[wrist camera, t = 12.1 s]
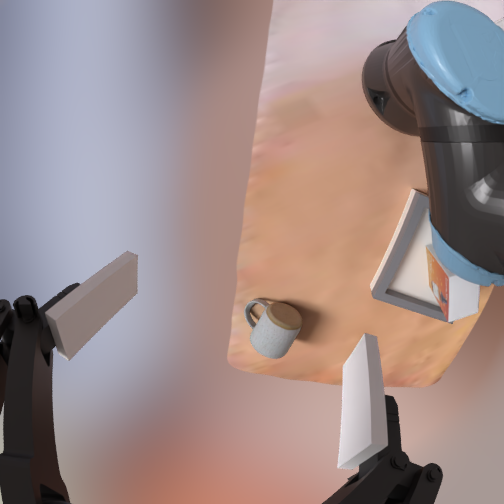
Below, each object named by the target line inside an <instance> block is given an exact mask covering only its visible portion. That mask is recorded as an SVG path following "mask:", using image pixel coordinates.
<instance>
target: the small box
mask: <svg viewBox="0 0 504 504" xmlns="http://www.w3.org/2000/svg"><path fill="white" fill-rule="evenodd" d="M425 247H426V253H427V263H428V277H429V287H430V288H431V290H432V292H433V294H434V296H435V298H436V300H437V302H438V303H439V305H440V307H441V310H442V311H443V313H444V316H445V318H446V320H447V322H452V321H455V320H458V319H461V318H464V317H467V316H470V315H473V314H475V313H478V308H479V294H480V285H477V284H474V283H471V282H468V281H466V280H464V279H462V278H460V277H458V276H457V275H455V274H453V273H452V272H451V271H449V270H448V269H447V268H446V267H445V266H444V265H443V264H442V263H441V261H440V260H439V259H438V257H437V255H436V253H435V250H434V248H433V244H428V245H426V246H425Z"/></svg>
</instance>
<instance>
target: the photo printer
mask: <svg viewBox="0 0 504 504" xmlns="http://www.w3.org/2000/svg"><path fill="white" fill-rule="evenodd" d="M494 23H495V24H496V25H497V26H500V27H501V28H502V29H503V31H504V17H503V18H501V19H499V20H497V21H496V22H494Z"/></svg>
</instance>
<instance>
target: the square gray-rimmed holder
mask: <svg viewBox="0 0 504 504" xmlns="http://www.w3.org/2000/svg"><path fill="white" fill-rule="evenodd" d="M429 208H430V207H429V196H427V195H425V194H423V193H421V192H419V191H417V190H414V189H412V190H411V192H410V195H409V198H408V200H407V203H406V206H405V208H404V211H403V213H402V216H401V218H400V221H399V223H398V226H397V228H396V230H395V233H394V235H393V238H392V240H391V242H390V244H389V247H388V249H387V251H386V253H385V255H384V258H383V260H382V262H381V264H380V266H379V268H378V270H377V272H376V274H375V276H374V278H373V280H372V282H371V284H370V288H371V292H372V297H373V298H374V299H377V300H380V301H383V302H386V303H389V304H392V305H395V306H398V307H401V308H404V309H408V310H411V311H414V312H417V313H420V314H423V315H426V316H429V317H432V318H435V319H438V320H441V321H444V322H447V320H446V318H445V316H444V313H443V311H442V310H441V307H440V305H439V303H438V302H437V300H436V298H435V296H434V294H433V292H432V290H431V288H430V287H429V277H428V263H427V253H426V247H425V246H426V245H428V244H432V233H431V226H430V222H429V218H428V210H429ZM453 322H454V321H452V322H448V323H451V324H453Z"/></svg>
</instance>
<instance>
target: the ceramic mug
mask: <svg viewBox="0 0 504 504" xmlns="http://www.w3.org/2000/svg"><path fill="white" fill-rule="evenodd" d="M255 303H259V304H260V305H262V306H263V307H265V310H264V312H263V314H262V315H261V317H260V319H259V321H258V323H257V324H256V323H255V322H254V321H253V319H252V317H251V315H250V309H251V307H252V306H253V305H254V304H255ZM244 315H245V318H246V321H247V322H248V324H249V325H250V327H251V328H252V329H253V331H252V333H251V335H250V341H251V344H252V346H253V347H254V349H255V350H256V351H257V352H258V353H260V354H261V355H264V356H265V357H268V358H273V359H277V358H281V357H283V356H284V355H285V354H286V353H287V352H288V350H289V348H290V347H291V345H292V343H293V342H294V340H295V338H296V336H297V335H298V333H299V332H300V329H301V326H302V317H301V315H300V314H299V312H298V311H297V310H296V309H295V308H293V307H292V306H290V305H288V304H285V303H272V304H268V303H267V302H266V301H264V300H262V299H254V300H252V301H250V302H249V303H248V304H247V305H246V307H245V309H244Z"/></svg>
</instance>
